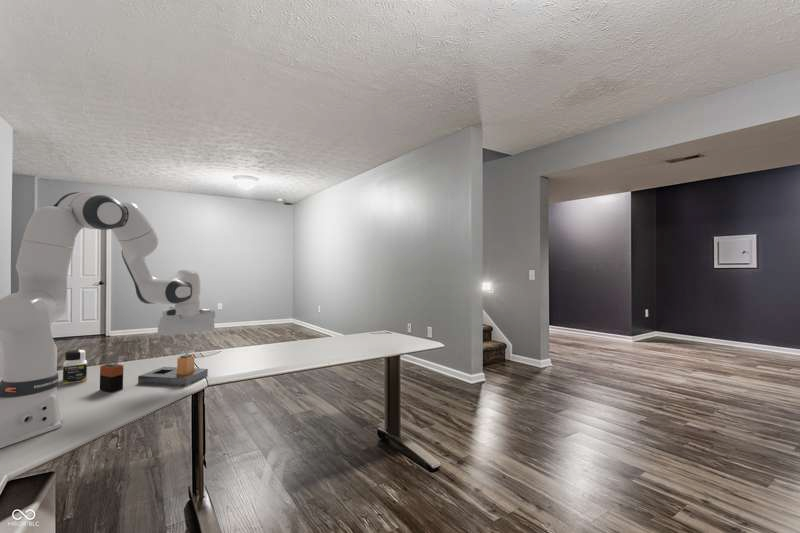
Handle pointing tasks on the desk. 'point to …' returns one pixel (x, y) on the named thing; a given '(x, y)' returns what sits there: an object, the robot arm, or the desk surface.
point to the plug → (185, 364)
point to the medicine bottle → (74, 367)
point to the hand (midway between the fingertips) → (186, 343)
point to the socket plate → (171, 376)
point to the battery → (111, 377)
